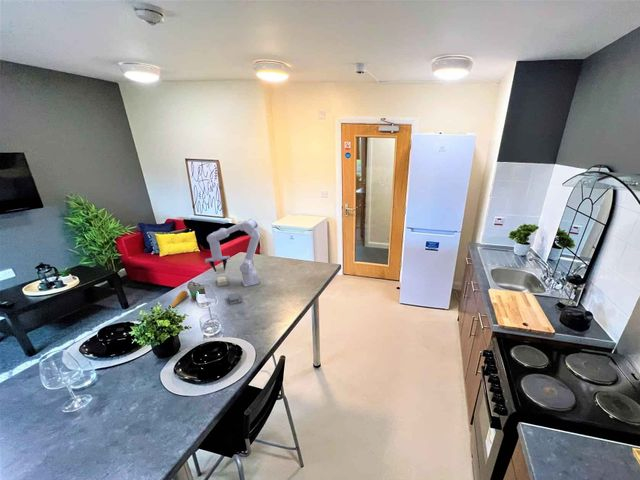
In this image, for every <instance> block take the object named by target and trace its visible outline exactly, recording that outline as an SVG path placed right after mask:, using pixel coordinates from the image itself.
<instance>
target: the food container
mask: <svg viewBox="0 0 640 480" xmlns="http://www.w3.org/2000/svg"><path fill="white" fill-rule="evenodd" d="M186 289H187V290H189V294H190V296H191V298H192V299H191V300H192V301H194V302H197V301H196V293H197V291H198V292H199V294H206V286H205V284H200V283H198V282H194V281H193V280H189V281H188V283H187V284H186ZM206 295H207V294H206Z"/></svg>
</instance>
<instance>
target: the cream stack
mask: <svg viewBox="0 0 640 480" xmlns="http://www.w3.org/2000/svg"><path fill="white" fill-rule="evenodd" d="M216 283H217V286H218V287H223V286H228V285H229V283H228V279H227V277H226V276H219V277H216Z"/></svg>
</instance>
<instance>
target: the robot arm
mask: <svg viewBox="0 0 640 480" xmlns="http://www.w3.org/2000/svg"><path fill="white" fill-rule="evenodd" d="M237 231H241V232H245V234H247V235H249V237H250V239H249V242H248V246H247V250H246V253H245V257H244V259H243V261H242V264H241V265H240V266H239V271H240V273H241V275H242V281H241V282H242V285H243V287H249V286H255V285H259V283H260V281H259V275H258V271H257V270H256V269H253V268H254V257H255V254H256V251H257V247H258V244H259V242H260V238H261V233H260V229H259V224H258V222H257V221H256V219H253V218H249V219H248V220H243V221H241V222H238V223H237V224H234V225H232V226H230V227H228V228H225V227H221V228H219V229H218V230H216V231H213V232H212V233H209V234H208V235H207V236H206V241H207V243H208V244H209V248H210V249H209V250H210V253H211V257H209V258H205V259H204V262H205V263H206V264H208V263H209V265H210V266H211V267H212V269H213V270H214V272H215V273H216V269H215V267H216V266H215V262H220V261H222V266H223V267H224V270H225V271H226V267H227V263H228V260H231V256H230V255H223V253H222V249H221V244H220V241H222V240H225V239H226V238H229V236H230V234H232V233H235V232H237Z"/></svg>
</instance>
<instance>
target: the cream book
mask: <svg viewBox="0 0 640 480" xmlns="http://www.w3.org/2000/svg"><path fill="white" fill-rule="evenodd" d="M215 269H216V272H215V274H216V275H220V274H225V273H226V269H225V270H224V267H223V265H217V266H215Z"/></svg>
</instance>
